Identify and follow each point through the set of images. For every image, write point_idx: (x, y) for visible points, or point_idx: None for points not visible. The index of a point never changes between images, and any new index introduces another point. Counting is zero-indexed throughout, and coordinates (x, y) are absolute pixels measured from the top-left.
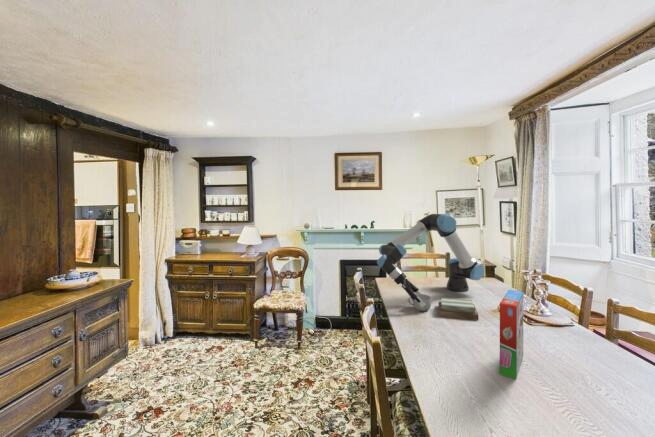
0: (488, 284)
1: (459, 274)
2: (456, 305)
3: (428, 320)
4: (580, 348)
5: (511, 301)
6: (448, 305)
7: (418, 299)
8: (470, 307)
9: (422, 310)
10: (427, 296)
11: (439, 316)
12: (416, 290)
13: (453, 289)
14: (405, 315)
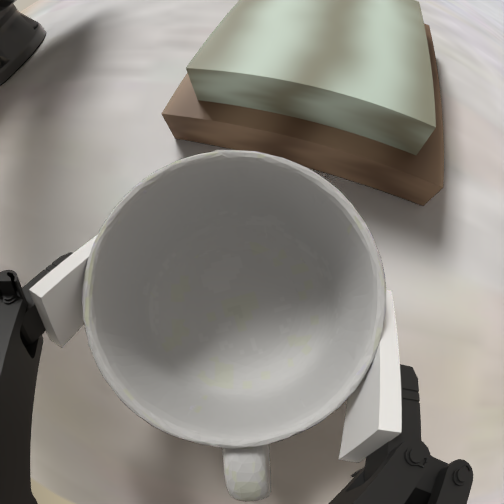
0: (41, 5)
1: (2, 1)
2: (406, 40)
3: (492, 314)
4: (497, 8)
5: None
6: (426, 82)
7: (414, 403)
8: (418, 9)
9: (308, 319)
10: (161, 188)
11: (423, 203)
12: (24, 320)
13: (16, 63)
14: None
